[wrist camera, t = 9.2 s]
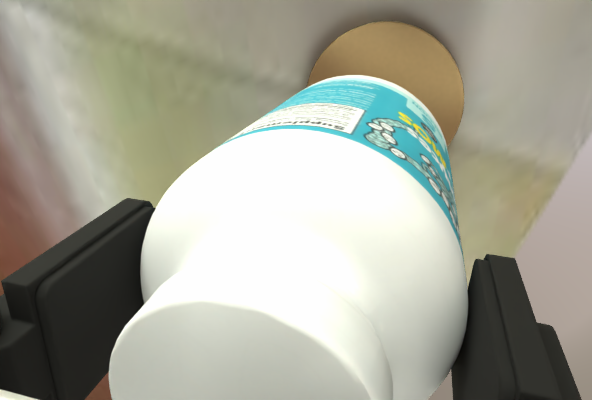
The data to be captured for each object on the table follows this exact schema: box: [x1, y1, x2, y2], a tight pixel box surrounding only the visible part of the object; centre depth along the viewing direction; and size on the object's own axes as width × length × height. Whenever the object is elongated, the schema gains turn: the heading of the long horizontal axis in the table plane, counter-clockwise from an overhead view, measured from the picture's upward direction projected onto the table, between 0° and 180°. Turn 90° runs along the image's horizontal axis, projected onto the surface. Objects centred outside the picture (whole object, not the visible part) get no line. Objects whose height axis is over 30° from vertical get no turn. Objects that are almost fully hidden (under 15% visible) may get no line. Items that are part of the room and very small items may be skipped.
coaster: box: [307, 21, 464, 147], centre depth 30 cm, size 10×10×1 cm
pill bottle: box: [109, 75, 468, 400], centre depth 13 cm, size 8×7×14 cm
